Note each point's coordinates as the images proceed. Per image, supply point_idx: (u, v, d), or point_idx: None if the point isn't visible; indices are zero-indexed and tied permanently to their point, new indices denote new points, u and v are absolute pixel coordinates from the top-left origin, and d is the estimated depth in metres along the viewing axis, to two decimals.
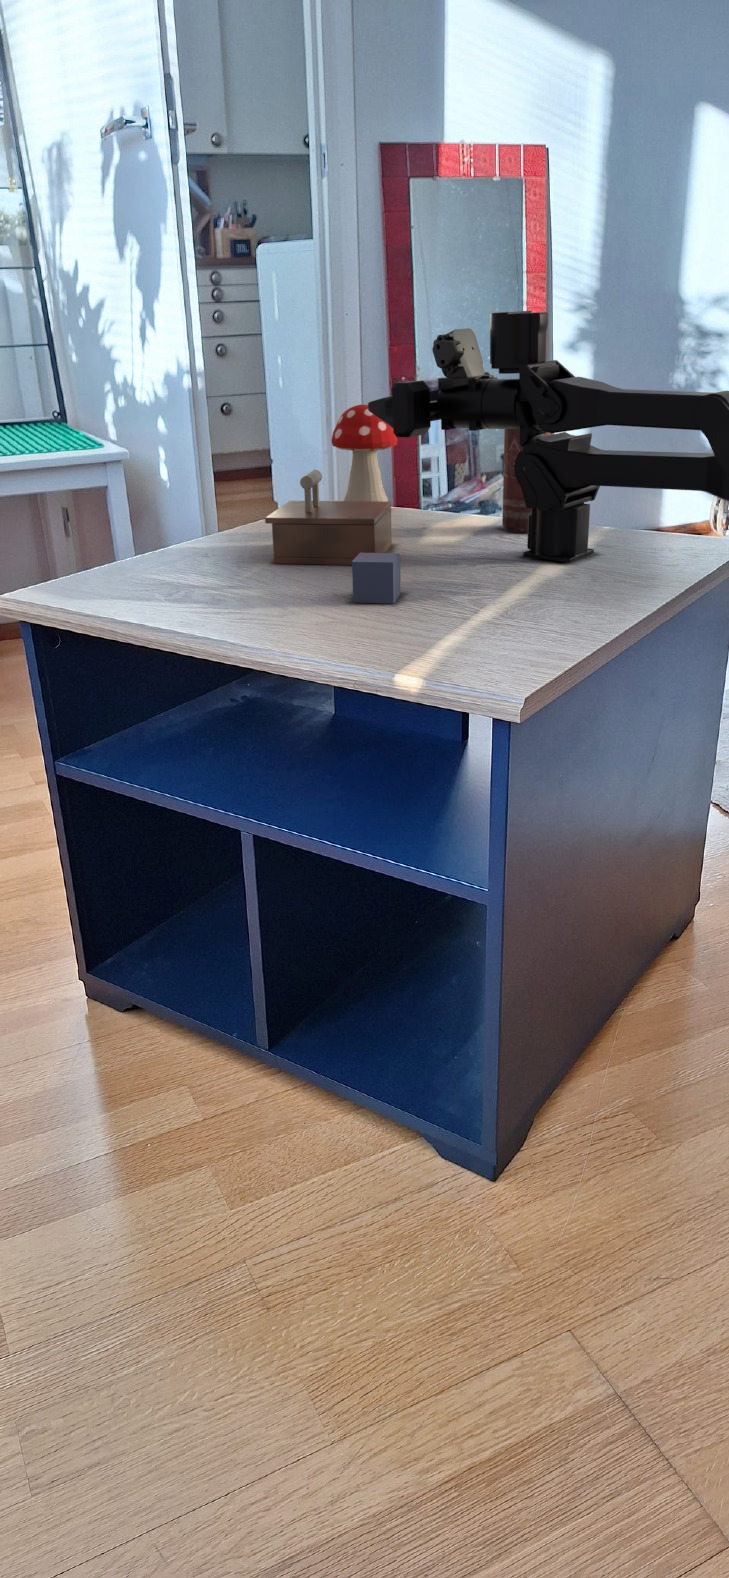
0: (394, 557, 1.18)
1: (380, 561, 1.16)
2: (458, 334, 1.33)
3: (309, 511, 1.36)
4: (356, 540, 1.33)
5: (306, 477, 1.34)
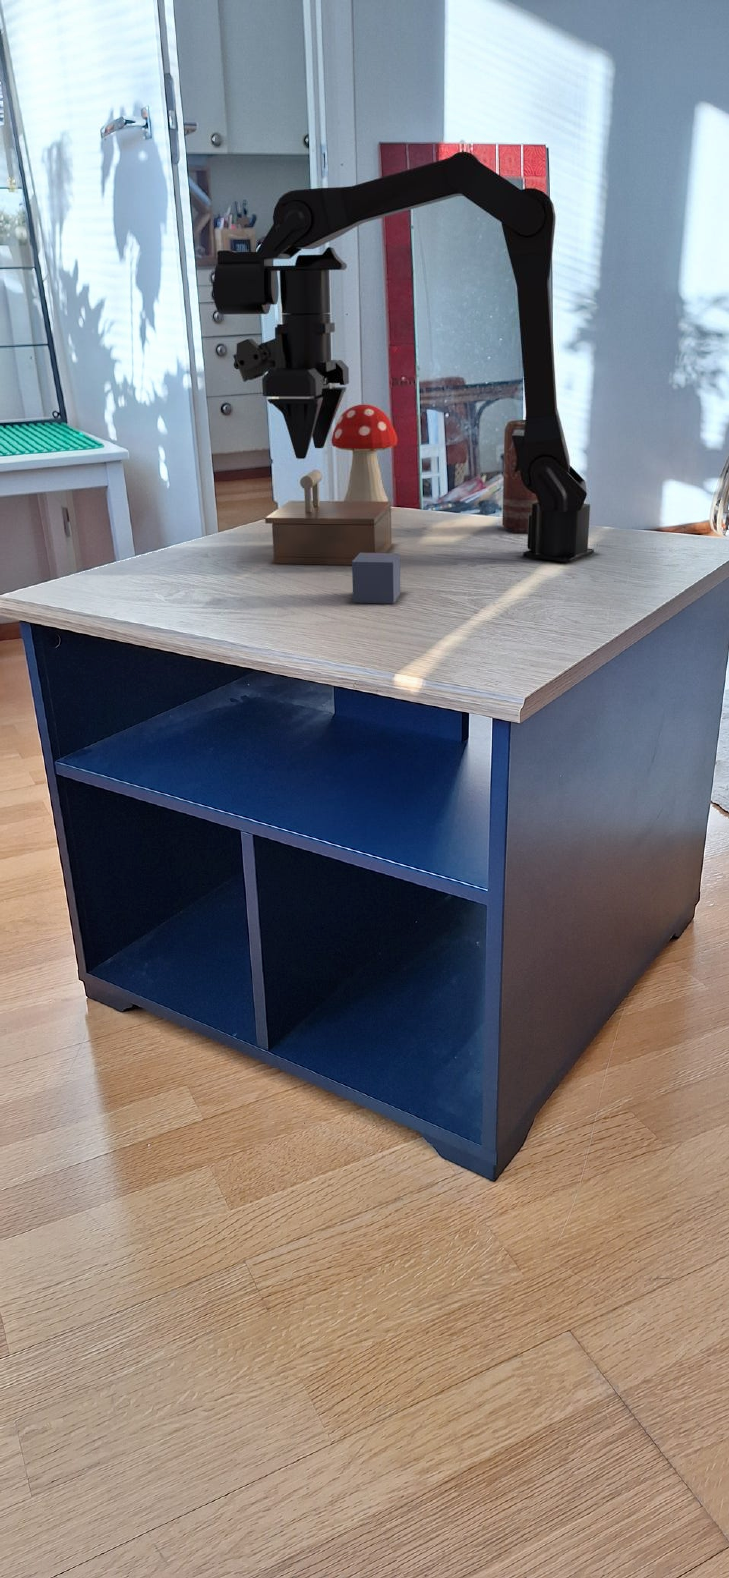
0: (394, 557, 1.18)
1: (380, 561, 1.16)
2: None
3: (309, 511, 1.36)
4: (356, 540, 1.33)
5: (306, 477, 1.34)
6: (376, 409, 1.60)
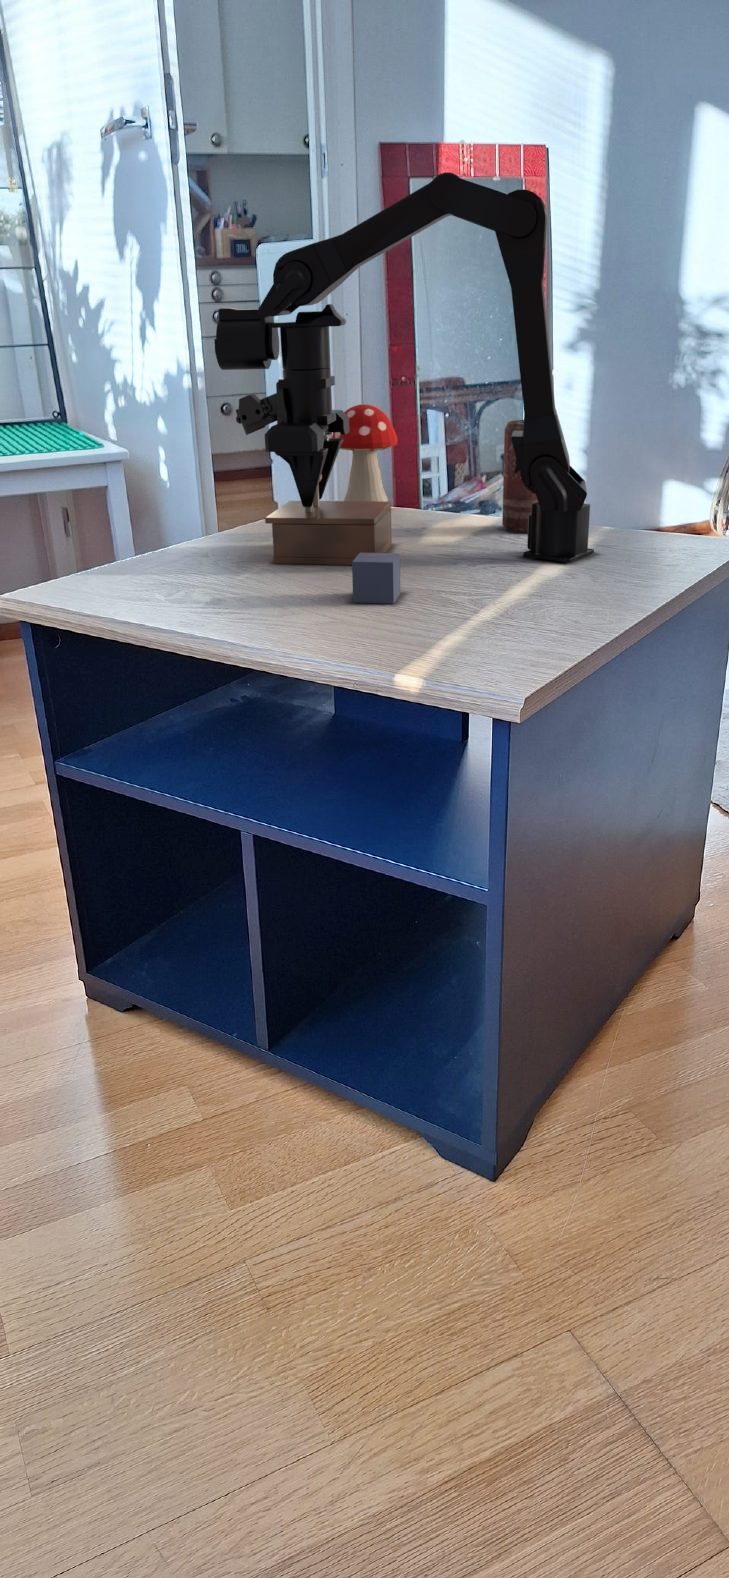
0: (394, 557, 1.18)
1: (380, 561, 1.16)
2: None
3: (309, 511, 1.36)
4: (356, 540, 1.33)
5: None
6: (376, 409, 1.60)
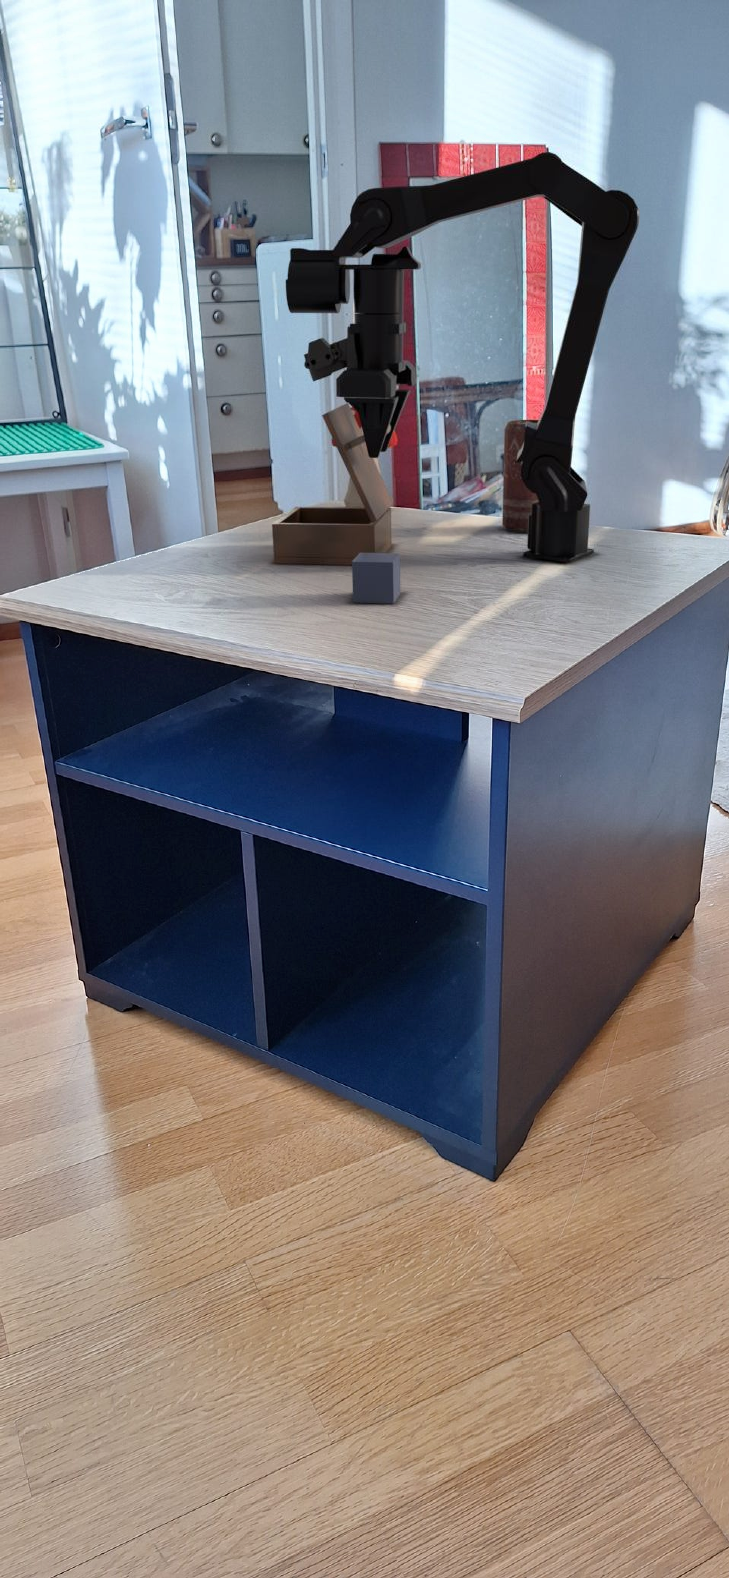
0: (394, 557, 1.18)
1: (380, 561, 1.16)
2: None
3: (352, 446, 1.32)
4: (356, 540, 1.33)
5: None
6: None
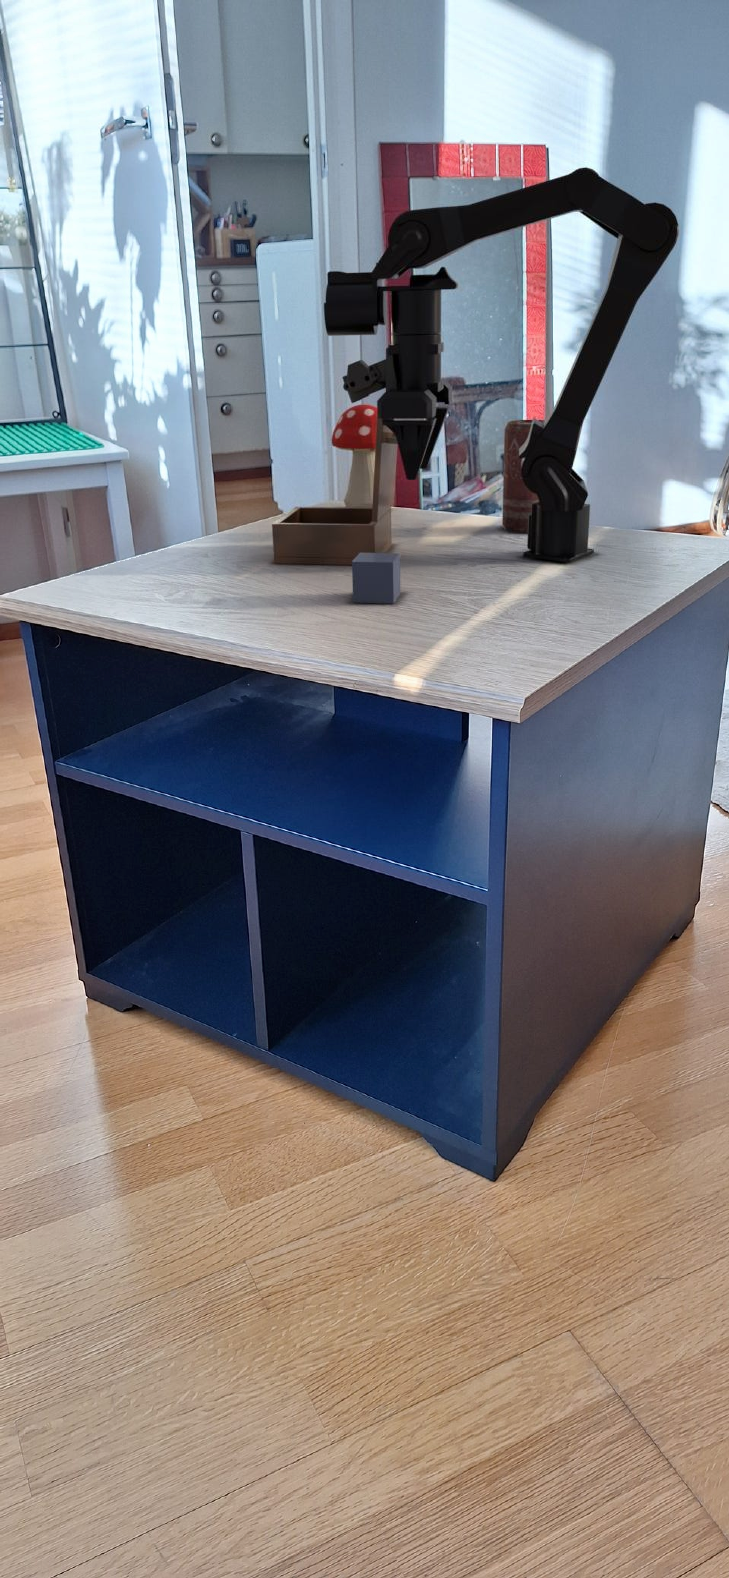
0: (394, 557, 1.18)
1: (380, 561, 1.16)
2: None
3: (388, 442, 1.31)
4: (356, 540, 1.33)
5: None
6: (376, 409, 1.60)
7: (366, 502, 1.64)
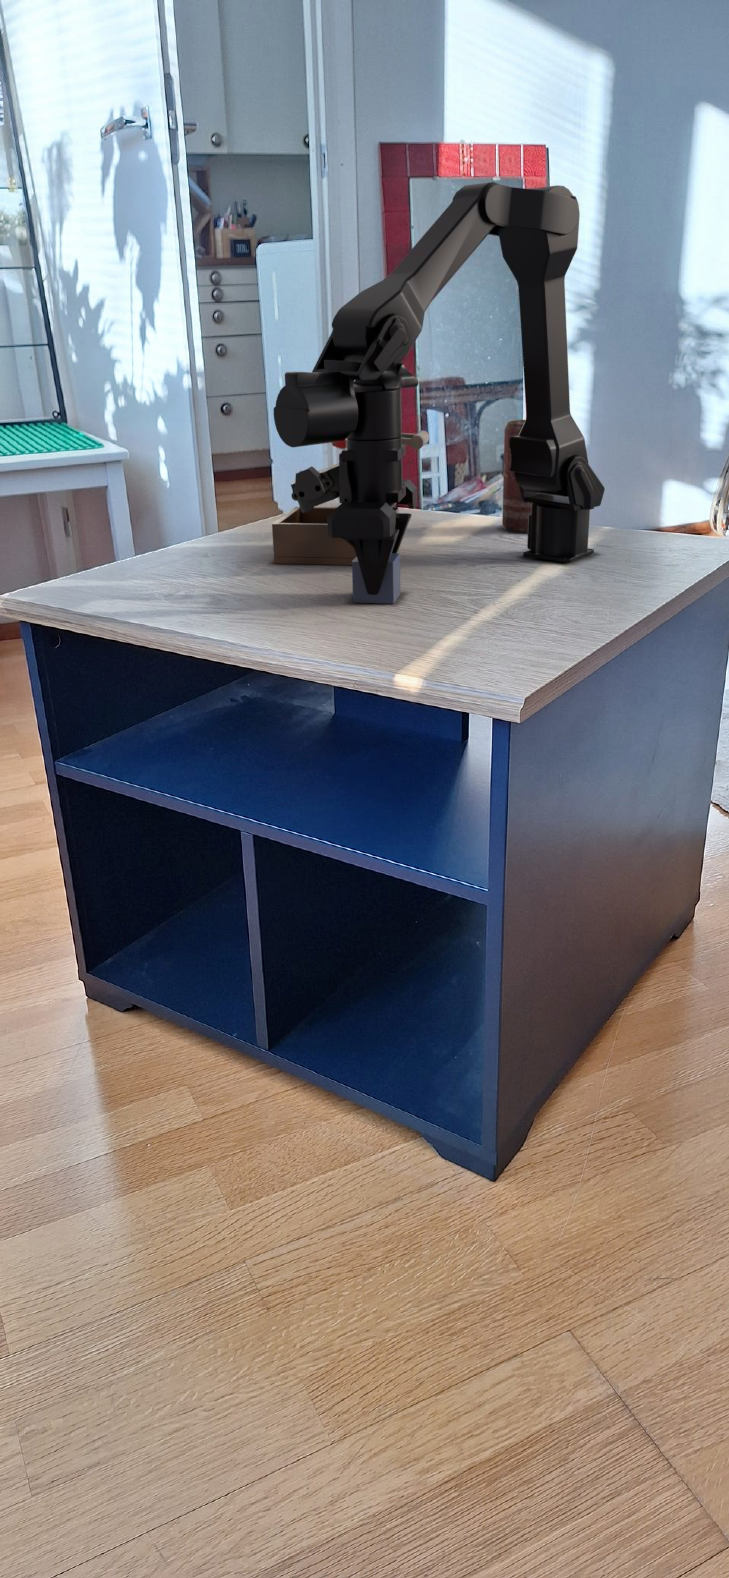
0: (394, 557, 1.18)
1: None
2: None
3: None
4: None
5: (421, 443, 1.30)
6: None
7: None
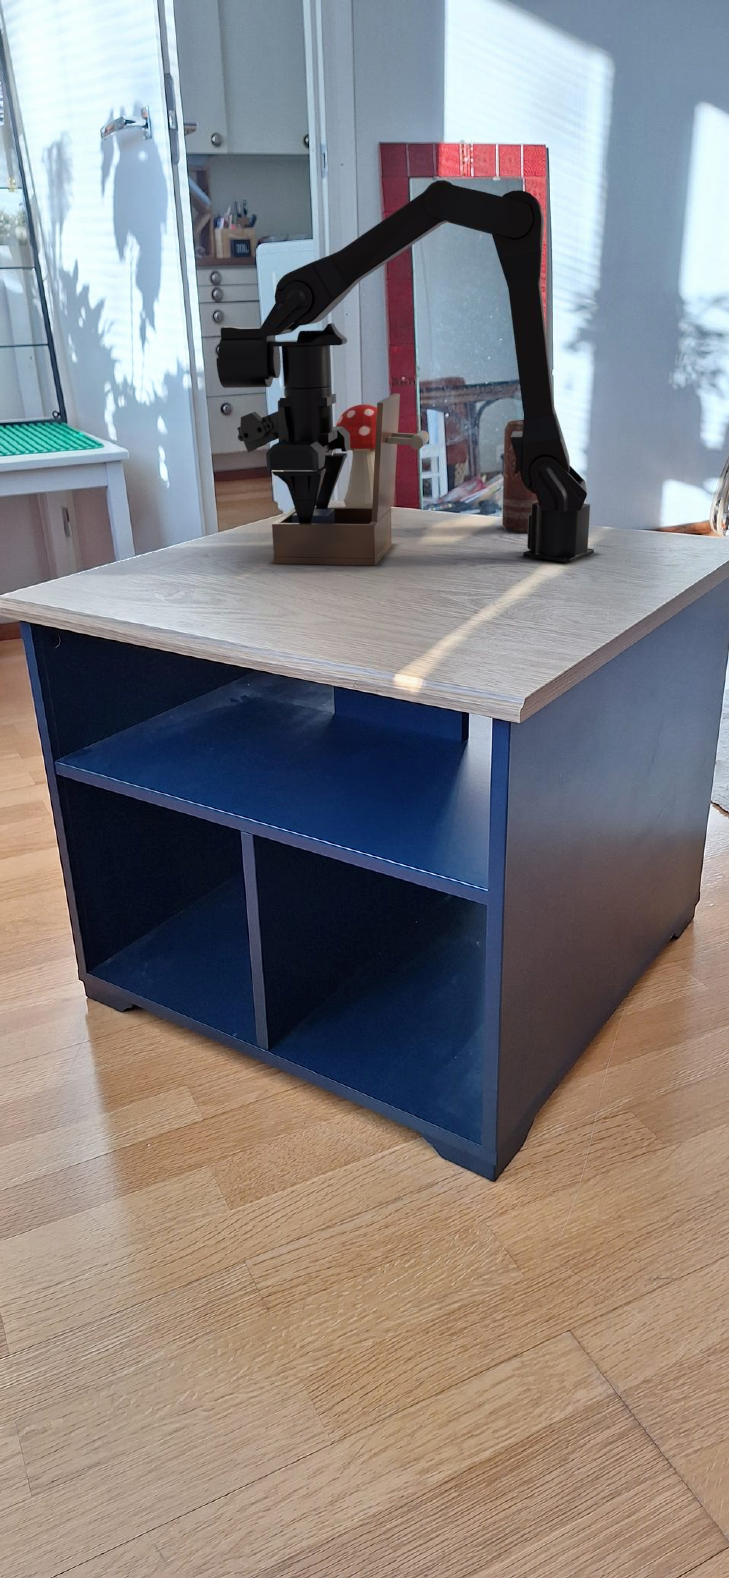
0: (328, 512, 1.38)
1: (316, 515, 1.37)
2: None
3: (387, 442, 1.31)
4: (356, 540, 1.33)
5: (421, 443, 1.30)
6: (376, 409, 1.60)
7: (366, 502, 1.64)
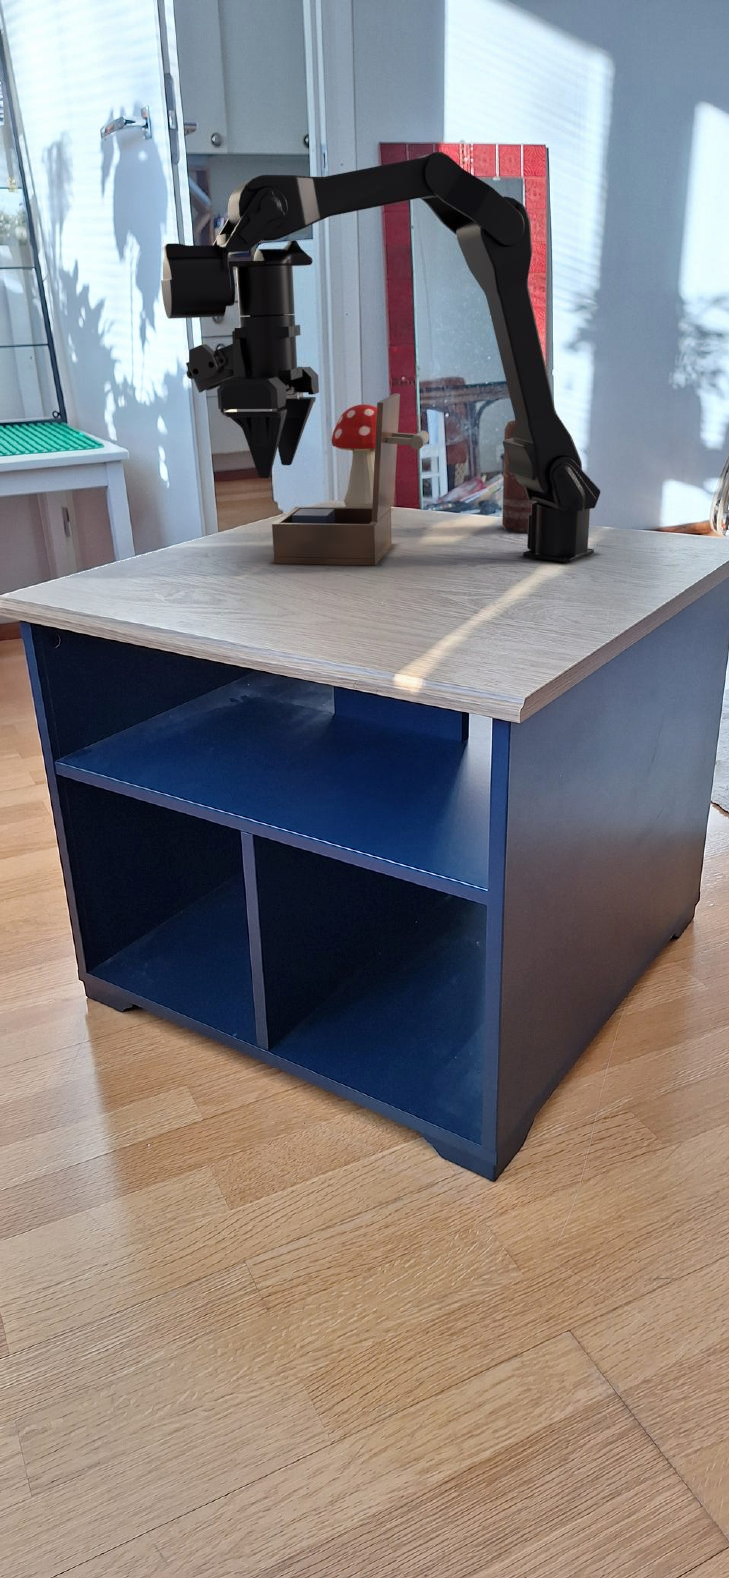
0: (328, 512, 1.38)
1: (316, 515, 1.37)
2: None
3: (387, 442, 1.31)
4: (356, 540, 1.33)
5: (421, 443, 1.30)
6: (376, 409, 1.60)
7: (366, 502, 1.64)
